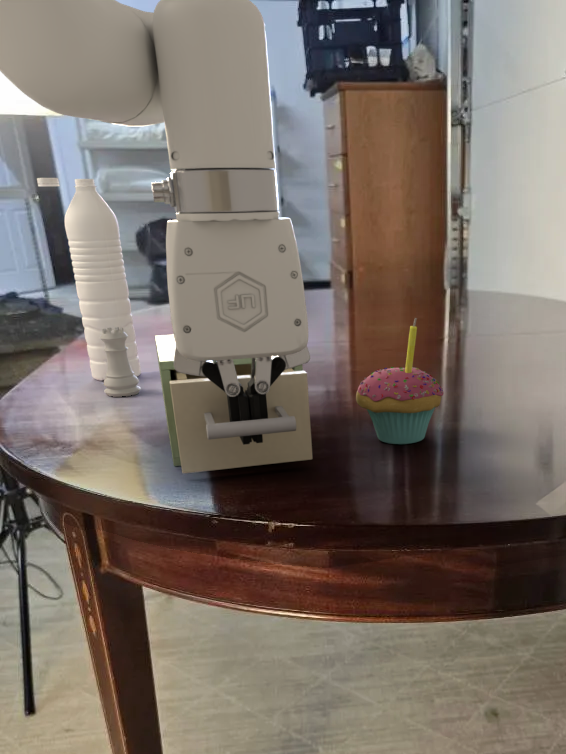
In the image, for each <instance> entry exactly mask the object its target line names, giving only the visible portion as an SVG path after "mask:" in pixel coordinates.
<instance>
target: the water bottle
mask: <svg viewBox="0 0 566 754" xmlns="http://www.w3.org/2000/svg"><path fill="white" fill-rule="evenodd" d="M36 181H37V187H60V181H59V178H58V177H37V178H36ZM74 184H75V185H74V186H73V188H75V192H74V194H73V197H71V198H72V199H71V200H70V203H69V205H68V207H67V209H66V211H65V215H64V229H65V233H66V239H67V240H68V242H67V243H68V246H69V253H70V260H71V266H72V272H73V274H74V275H73V277H74V280H75V288H76V295H77V298H78V300H79V302H78V305H79V311H80V314H81V316H82V317H81V323H82V327H83V328H84V332H83V333H84V339H85V342H86V344H87V345H86V350H87V355H88V358H89V367H90V374H91V377H92V379H95V380H97V381H104V380H105V378H106V374H107V355H106V352H105V351H104V349H105V343H104V342H103V341H102V340H101V339H100V337H101V335H102V329H106V330H107V328H111V329H112V331H114V330H115V327H119V329H120V328H123V329H124V332H125V333H126V334H127V335H128V337H127V339H126V341H125V346H126V347H127V348H128V349H127V357H128V360H129V364H130V367H131V369H132V371H133V372H134V375H135V376H136V377H137V378H138V377H139V376H140V375H141V374H142V367H141V362H140V357H139V355H138V354H139V349H138V344H137V341H136V330H135V327H134V317H133V314H132V303H131V300H130V297H129V296H130V291H129V285H128V281H127V279H126V278H127V273H126V272H125V271H126V267H125V261H124V255H123V247H122V246H121V245H122V241H121V239H120V238H121V234H120V233H121V232H120V226H119V221H118V218H117V216H116V214H115V213H114V211H113V210H112V208H111V207H110V205H108V203H107V202H106V201H105V200H104V199H103V197H102V196H101V194H99V192H98V191H97V187H98V185H95V184H96V183H95V179H94V178H74ZM119 331H120V330H119Z"/></svg>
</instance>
